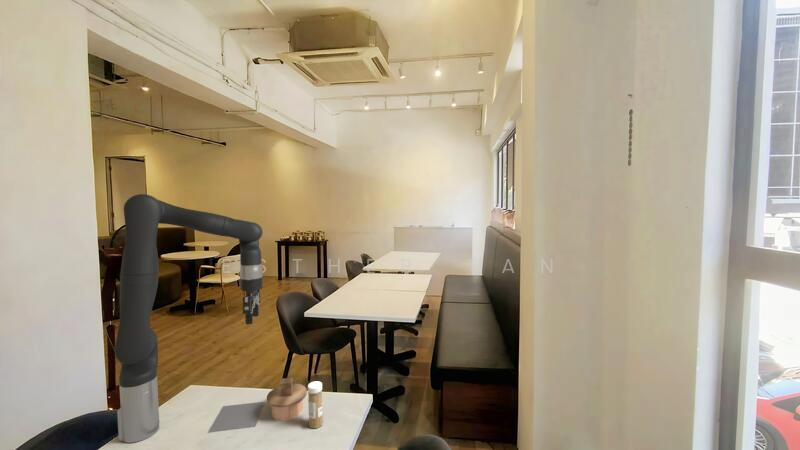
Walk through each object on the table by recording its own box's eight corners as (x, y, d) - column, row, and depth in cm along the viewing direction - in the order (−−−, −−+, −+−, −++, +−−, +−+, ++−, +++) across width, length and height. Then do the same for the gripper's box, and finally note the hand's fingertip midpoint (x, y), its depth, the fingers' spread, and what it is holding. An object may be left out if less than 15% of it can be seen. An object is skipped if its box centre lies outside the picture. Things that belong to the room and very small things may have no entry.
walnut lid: (263, 409, 105) (262, 393, 105) (270, 387, 118) (270, 373, 118) (304, 404, 108) (304, 388, 107) (308, 383, 120) (307, 369, 120)
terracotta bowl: (269, 423, 107) (268, 406, 107) (275, 406, 117) (274, 389, 117) (301, 420, 109) (300, 402, 109) (304, 402, 119) (303, 386, 118)
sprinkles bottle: (325, 425, 106) (324, 385, 105) (311, 431, 103) (310, 389, 103) (320, 418, 110) (319, 379, 109) (306, 423, 107) (305, 383, 106)
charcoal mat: (207, 434, 102) (207, 432, 102) (223, 407, 116) (223, 406, 116) (255, 428, 105) (255, 426, 105) (264, 403, 119) (264, 401, 119)
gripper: (246, 273, 126) (247, 314, 127) (234, 280, 112) (235, 327, 113) (266, 272, 128) (267, 313, 128) (257, 280, 114) (258, 326, 114)
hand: (252, 320), depth 121 cm, fingers open, 8 cm apart
